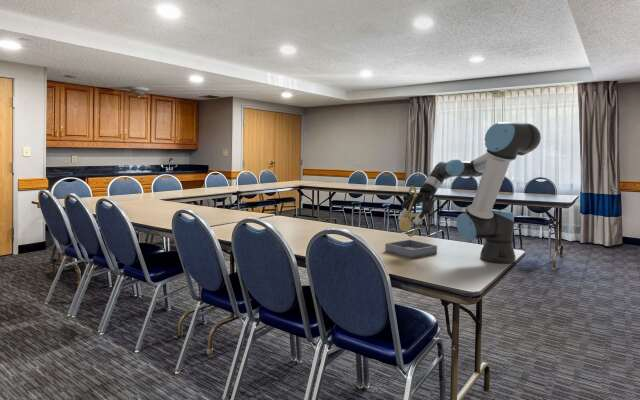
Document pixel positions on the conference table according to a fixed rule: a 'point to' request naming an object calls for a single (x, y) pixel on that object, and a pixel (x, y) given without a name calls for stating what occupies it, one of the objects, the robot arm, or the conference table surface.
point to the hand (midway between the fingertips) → (407, 221)
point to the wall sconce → (405, 222)
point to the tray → (411, 248)
